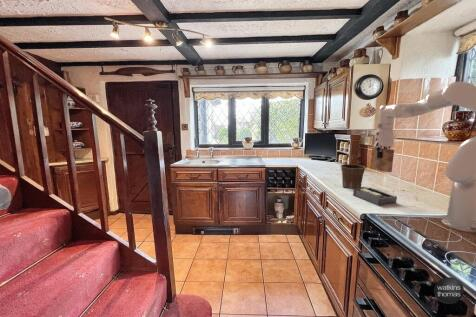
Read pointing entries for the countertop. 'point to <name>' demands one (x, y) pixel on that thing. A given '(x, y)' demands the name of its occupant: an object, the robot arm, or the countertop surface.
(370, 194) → the offcut
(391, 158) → the walnut board
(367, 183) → the countertop surface
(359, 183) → the plant pot
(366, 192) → the offcut
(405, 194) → the baseboard
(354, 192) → the rack
